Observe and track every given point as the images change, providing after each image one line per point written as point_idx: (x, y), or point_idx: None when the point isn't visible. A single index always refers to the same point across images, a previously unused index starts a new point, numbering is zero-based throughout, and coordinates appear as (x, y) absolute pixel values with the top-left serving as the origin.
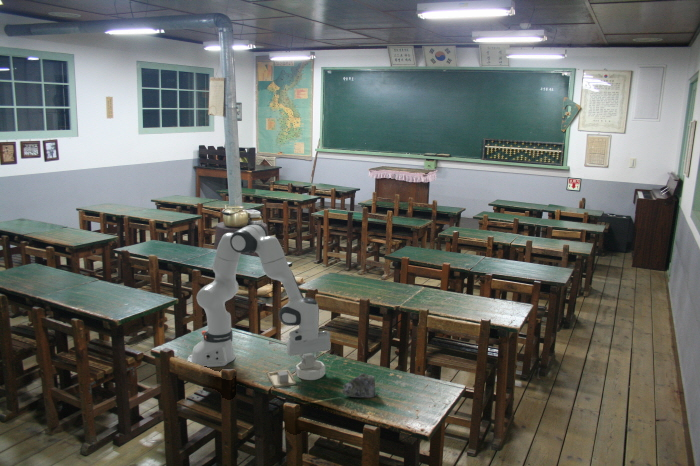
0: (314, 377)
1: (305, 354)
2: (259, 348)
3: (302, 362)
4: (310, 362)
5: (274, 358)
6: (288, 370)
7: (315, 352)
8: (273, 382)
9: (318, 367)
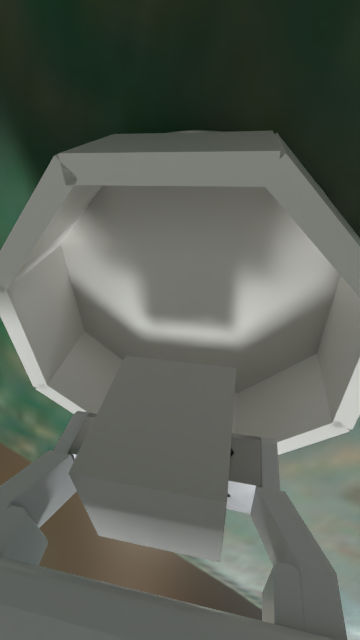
0: (188, 137)
1: (193, 551)
2: (344, 599)
3: (273, 441)
4: (163, 402)
5: (334, 539)
6: None
7: (30, 540)
8: None
9: (94, 353)
